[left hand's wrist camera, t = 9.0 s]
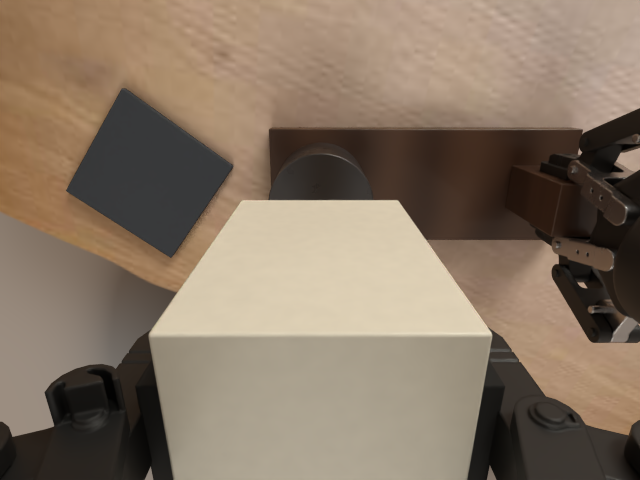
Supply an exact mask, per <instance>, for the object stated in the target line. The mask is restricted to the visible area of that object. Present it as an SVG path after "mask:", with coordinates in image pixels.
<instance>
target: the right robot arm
mask: <svg viewBox="0 0 640 480" xmlns="http://www.w3.org/2000/svg"><path fill="white" fill-rule="evenodd" d="M579 148H580V150H581V151H582V154H581V155H577V154H552V155H550V156H549V161H542V162H541V165H540V171H541V172H544V173H546V174H549V175H552V176H555V177H558V178H561V179H563V180H572V181H573V182H575V183H576V184H577V185H578V186H580V187H581V191H580V194H581V195H582V196H584V197H585V198H586V199H587V200H589V201H590V202H591V203H592V204H593V205H595V206H596V207H597V208H598V210H597V222H596V225H595V227H594V229H593V231H592V233H591V237H551V236H549V235H548V234H546V233H545V232H543V231H541V230H540V229H538V228H537V227H535V226H533V225H532V224H529V225H530V226H532V227H533V228H535V233H536V235H537V237H539V238H540V239H542V240H543V241H545V242H546V243H548V244H549V245H551V246H552V250H553V252H554V253H556V254H558V255H559V264H555V265H554V266H553V268H552V278H553V280H554V281H555V283H556V285H557V286H558V288H559V290H560V292H561V293H562V295H563V297H564V298H565V300H566V302H567V303H568V305H569V307H570V308H571V310H572V312H573V314H574V315H575V317H576V319H577V320H578V322H579V324H580V325H581V327H582V329H583V330H584V332H585V334H586V336H587V337H588V339H589V340H590V341H591V342H593V343H638V342H639V341H640V326H639V325H638V323H639V324H640V170H639V171H637V172H633V171H631V170H629V169H627V168H626V167H624V166H622V165H621V164H619V163H618V162H616V160H617V158H618V156H619V154H620V153H621V152H628V151H631V150H634V149H638V148H640V108H639V109H637V110H635V111H632V112H630V113H628V114H626V115H623V116H621V117H619V118H617V119H614V120H612V121H610V122H607V123H605V124H603V125H601V126H598V127H596V128H594V129H592V130H589V131H587V132H585V133H583V135H582V136H581V138H580V141H579ZM577 282H584V283H585V285H586V286H587V288H582V287H580V286H579V285H578V283H577Z"/></svg>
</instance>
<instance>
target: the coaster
mask: <svg viewBox="0 0 640 480" xmlns="http://www.w3.org/2000/svg"><path fill="white" fill-rule="evenodd" d="M232 168H233V165H232V164H230V163H229V162H227V161H226V160H225V159H223V158H222V157H220V156H219V155H218V154H216V153H215V152H213V151H212V150H211V149H209V148H208V147H206V146H205V145H204V144H202V143H201V142H199V141H198V140H197V139H195V138H194V137H192V136H191V135H190V134H188V133H187V132H185V131H184V130H183V129H181V128H180V127H178V126H177V125H176V124H174V123H173V122H172V121H170V120H169V119H167V118H166V117H165V116H163V115H162V114H160V113H159V112H158V111H156V110H155V109H153V108H152V107H151V106H149V105H148V104H146V103H145V102H144V101H142V100H141V99H139V98H138V97H137V96H135V95H134V94H132V93H131V92H130V91H128V90H127V89H123V88H122V89H121V91H120V93H119V95H118V97H117V99H116V100H115V102H114V104H113V106H112V108H111V109H110V111H109V113H108V115H107V117H106V119H105V120H104V122H103V124H102V126H101V128H100V130H99V131H98V133H97V135H96V137H95V139H94V141H93V142H92V144H91V146H90V148H89V150H88V151H87V153H86V155H85V157H84V159H83V161H82V162H81V164H80V166H79V168H78V170H77V172H76V173H75V175H74V177H73V179H72V181H71V182H70V184H69V186H68V188H67V190H66V191H67V192H68V193H70V194H72V195H73V196H75V197H76V198H78V199H79V200H81V201H83V202H84V203H86V204H87V205H89V206H90V207H92V208H94V209H95V210H97V211H98V212H100V213H101V214H103V215H105V216H106V217H108V218H109V219H111V220H112V221H114V222H116V223H117V224H119V225H120V226H122V227H123V228H125V229H126V230H128V231H130V232H131V233H133V234H134V235H136V236H137V237H139V238H141V239H142V240H144V241H145V242H147V243H148V244H150V245H152V246H153V247H155V248H156V249H158V250H159V251H161V252H163V253H164V254H166V255H167V256H169V257H170V258H171V257H172V256H173V255H174V254H175V252H176V251H177V249H178V248H179V246H180V245H181V243H182V242H183V240H184V239H185V237H186V236H187V234H188V233H189V232H190V230H191V229H192V227H193V226H194V224H195V223H196V221H197V220H198V218H199V217H200V215H201V214H202V212H203V211H204V209H205V208H206V207H207V205H208V204H209V202H210V201H211V199H212V198H213V196H214V195H215V193H216V192H217V190H218V189H219V187H220V186H221V184H222V183H223V181H224V180H225V179H226V177H227V176H228V174H229V173H230V171H231V170H232Z"/></svg>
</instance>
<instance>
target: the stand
mask: <svg viewBox="0 0 640 480" xmlns="http://www.w3.org/2000/svg"><path fill="white" fill-rule="evenodd" d="M582 132H583V129H577V128H270V129H269V141H270V165H271V190H270V194H269V200H398V201H399V202H400V204H401V205H402V207H403V208H404V210H405V211H406V212H407V214H408V215H409V217H410V218H411V219H412V221H413V222H414V224H415V225H416V227H417V228H418V229H419V231H420V232H421V234H422V235H423V236H424V238H425V239H426V240H542V239H540V238H539V237H537V235H536V233H535V228H533V227H532V226H530V225H529V224H532V225H533V226H535V227H537V228H538V229H540V230H541V231H543V232H545V233H546V234H548V235H549V236H551V237H591V233H592V231H593V229H594V227H595V225H596V222H597V210H598V208H597V207H596V206H595V205H593V204H592V203H591V202H590V201H589V200H587V199H586V198H585V197H584V196H582V195H581V194H580V191H581V187H580V186H578V185H577V184H576V183H575V182H573V181H572V180H563V179H561V178H558V177H555V176H552V175H549V174H546V173H544V172H541V171H540V165H541V162H542V161H549V156H550V155H552V154H577V155H578V150H579V141H580V138H581V136H582Z"/></svg>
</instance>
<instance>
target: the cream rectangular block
mask: <svg viewBox="0 0 640 480" xmlns="http://www.w3.org/2000/svg"><path fill="white" fill-rule="evenodd" d="M491 341H492V333H491V331H490V330H489V328H488V327H487V326H486V324H485V323H484V321H483V320H482V319H481V317H480V316H479V314H478V313H477V311H476V310H475V309H474V307H473V306H472V304H471V303H470V302H469V300H468V299H467V297H466V296H465V294H464V293H463V292H462V290H461V289H460V287H459V286H458V285H457V283H456V282H455V280H454V279H453V277H452V276H451V275H450V273H449V272H448V270H447V269H446V268H445V266H444V265H443V263H442V262H441V261H440V259H439V258H438V256H437V255H436V253H435V252H434V251H433V249H432V248H431V246H430V245H429V244H428V242H427V241H426V239H425V238H424V236H423V235H422V234H421V232H420V231H419V229H418V228H417V227H416V225H415V224H414V222H413V221H412V219H411V218H410V217H409V215H408V214H407V212H406V211H405V210H404V208H403V207H402V205H401V204H400V202H399V201H398V200H242V201H241V202H240V204H239V205H238V206H237V208H236V209H235V211H234V212H233V214H232V215H231V216H230V218H229V219H228V221H227V222H226V224H225V225H224V227H223V228H222V229H221V231H220V232H219V234H218V235H217V237H216V238H215V239H214V241H213V242H212V244H211V245H210V247H209V248H208V249H207V251H206V252H205V254H204V255H203V257H202V258H201V260H200V261H199V262H198V264H197V265H196V267H195V268H194V270H193V271H192V272H191V274H190V275H189V277H188V278H187V280H186V281H185V283H184V284H183V285H182V287H181V288H180V290H179V291H178V293H177V294H176V295H175V297H174V298H173V300H172V301H171V303H170V304H169V305H168V307H167V308H166V310H165V311H164V313H163V314H162V316H161V317H160V318H159V320H158V321H157V323H156V324H155V326H154V327H153V328H152V330H151V331H150V333H149V342H150V348H151V354H152V360H153V365H154V371H155V377H156V382H157V388H158V394H159V400H160V405H161V411H162V417H163V422H164V428H165V434H166V440H167V445H168V451H169V457H170V462H171V468H172V474H173V480H467V478H468V472H469V466H470V461H471V455H472V449H473V444H474V438H475V432H476V427H477V421H478V415H479V409H480V404H481V398H482V392H483V387H484V381H485V375H486V370H487V364H488V358H489V353H490V347H491Z"/></svg>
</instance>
